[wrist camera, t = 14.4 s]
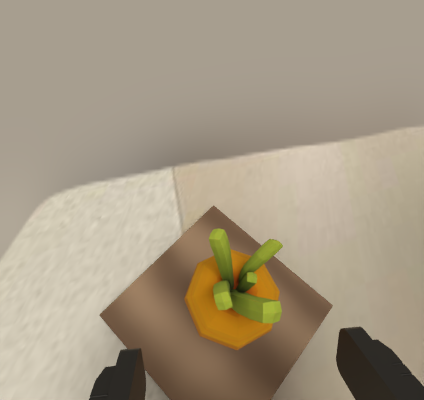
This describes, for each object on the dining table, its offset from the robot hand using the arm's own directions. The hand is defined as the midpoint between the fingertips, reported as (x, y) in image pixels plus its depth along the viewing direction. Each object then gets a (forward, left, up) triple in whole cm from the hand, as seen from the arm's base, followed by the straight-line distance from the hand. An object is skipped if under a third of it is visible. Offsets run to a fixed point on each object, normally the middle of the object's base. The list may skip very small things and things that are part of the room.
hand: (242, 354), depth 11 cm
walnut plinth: (-2, -2, -15) cm, 16 cm away
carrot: (-2, -2, -13) cm, 13 cm away
